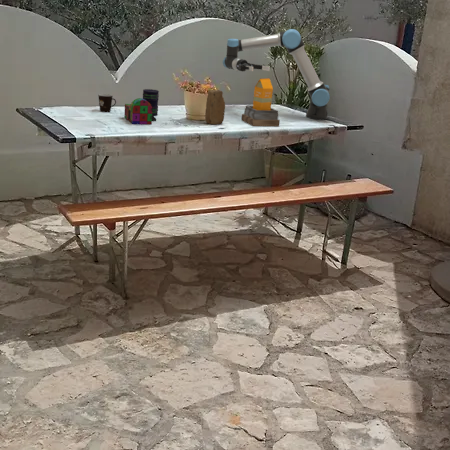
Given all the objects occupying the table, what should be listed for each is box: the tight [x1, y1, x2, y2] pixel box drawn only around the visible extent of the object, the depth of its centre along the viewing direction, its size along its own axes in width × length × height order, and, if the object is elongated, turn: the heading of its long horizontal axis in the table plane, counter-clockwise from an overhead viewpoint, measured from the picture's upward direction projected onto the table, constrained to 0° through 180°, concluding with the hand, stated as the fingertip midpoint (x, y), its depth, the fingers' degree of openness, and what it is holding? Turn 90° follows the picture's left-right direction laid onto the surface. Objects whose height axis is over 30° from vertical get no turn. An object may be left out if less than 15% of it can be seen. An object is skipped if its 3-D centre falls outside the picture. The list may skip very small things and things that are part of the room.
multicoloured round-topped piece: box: [123, 97, 157, 126], centre depth 353 cm, size 25×17×14 cm
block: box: [204, 89, 226, 125], centre depth 362 cm, size 11×8×20 cm
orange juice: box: [252, 77, 274, 111], centre depth 373 cm, size 8×9×20 cm
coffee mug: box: [98, 93, 117, 113], centre depth 368 cm, size 12×9×10 cm
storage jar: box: [142, 88, 160, 117], centre depth 372 cm, size 10×10×15 cm
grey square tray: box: [241, 105, 281, 127], centre depth 378 cm, size 18×18×10 cm
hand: (261, 69), depth 377 cm, fingers open, 13 cm apart
